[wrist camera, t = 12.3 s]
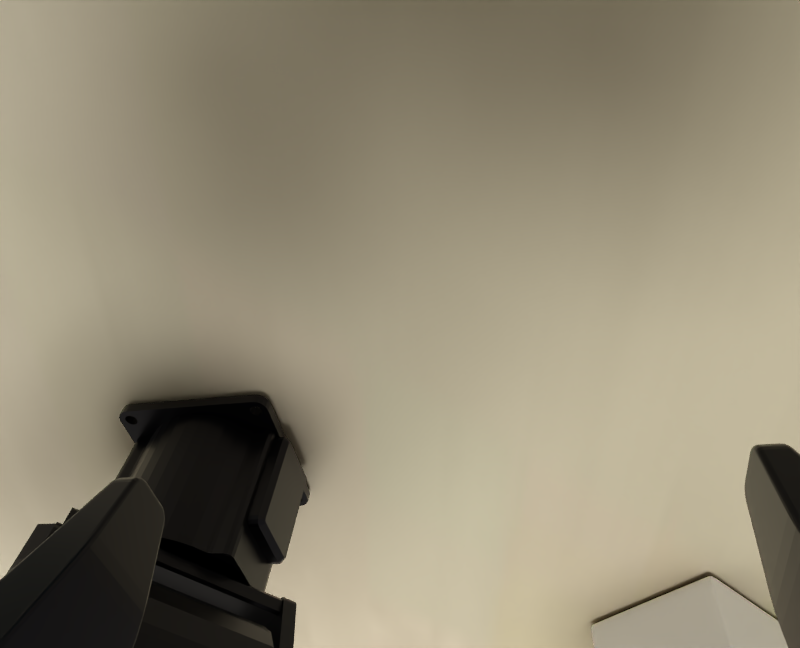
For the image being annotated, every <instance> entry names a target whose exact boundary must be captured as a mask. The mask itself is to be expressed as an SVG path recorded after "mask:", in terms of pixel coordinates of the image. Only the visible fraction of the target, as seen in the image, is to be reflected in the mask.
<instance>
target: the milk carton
mask: <svg viewBox="0 0 800 648" xmlns="http://www.w3.org/2000/svg"><path fill="white" fill-rule="evenodd" d="M591 630H592V639H593V647H594V648H788V646H787V643H786V641H785V638H784V636H783V633H782V630H781V628H780V625H779V622H778V621H777V620H776V619H775V618H773V617H772V616H770V615H769V614H767V613H766V612H764V611H763V610H761V609H760V608H758V607H757V606H756V605H754V604H753V603H751V602H750V601H748V600H747V599H745V598H744V597H742V596H741V595H740V594H738V593H737V592H735V591H734V590H732V589H731V588H729V587H728V586H726V585H725V584H723V583H722V582H720V581H719V580H717V579H716V578H714V577H712V576H708V577H706V578H703V579H701V580H698V581H696V582H693V583H691V584H689V585H686V586H684V587H681V588H679V589H676V590H674V591H672V592H669V593H667V594H664V595H662V596H660V597H657V598H655V599H652V600H650V601H648V602H645V603H643V604H640V605H638V606H636V607H633V608H631V609H629V610H626V611H624V612H621V613H619V614H617V615H614V616H612V617H610V618H607V619H605V620H602V621H600V622H598V623H595V624H593V625H592V626H591Z"/></svg>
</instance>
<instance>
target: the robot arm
mask: <svg viewBox="0 0 800 648" xmlns="http://www.w3.org/2000/svg"><path fill="white" fill-rule="evenodd" d="M256 407H259V408H256ZM119 418H120V421H121V422H122V424H123V425H124V427H125V429H126V430H127V432H128V433H129V435H130V436H131V438H132V439H133V441H134V443H135V445H134V447H133V448H132V450H131V452H130V454H129V456H128V458H127V459H126V461H125V463H124V465H123V467H122V468H121V470H120V472H119V474H118V476H117V478H116V479H115V480H114V481H112V482H111V483H110V484H109V485H108V486H106V487H105V488H104V489H103V490H102V491H101V492H100V493H98V494H97V495H96V496H95V497H94V498H93V499H92V500H91V501H89V502H88V503H87V504H86V505H85V506H84V507H83V508H81V509H80V510H77V509H75V508H72V509H71V511H70V513H69V515H68V516H67V518H66V520H65V521H64V523H63V524H61V523H58V522H57V523H56V524H38V525H37V526H36V528H35V530H34V531H33V533H32V535H31V536H30V538H29V539H28V541H27V543H26V544H25V546H24V547H23V549H22V551H21V552H20V554H19V555H18V557H17V558H16V560H15V562H14V563H13V565H12V566H11V568H10V569H9V571H8V572H7V574H6V575H5V576H4V577H3V578H2V579H1V580H0V648H293V644H294V630H295V615H296V602H294V601H291V600H289V599H286V598H284V597H282V598H281V599H280V598H278V597H275V596H273V595H270V594H268V593H266V592H265V589H266V585H267V582H268V578H269V574H270V571H271V567H272V564H280V563H281V562H282V561H283V560H284V559H285V557H286V554H287V550H288V547H289V543H290V539H291V536H292V532H293V528H294V524H295V521H296V517H297V513H298V509H299V506H301V505H305V504H306V503H307V502H308V498H309V495H310V492H309V489H308V487H307V484H306V476H305V474H304V471H303V469H302V467H301V465H300V462H299V460H298V458H297V455H296V453H295V451H294V449H293V446H292V444H291V442H290V441H289V440H288V439H287V437H285V435H284V432H283V430H282V428H281V425H280V423H279V421H278V419H277V416H276V414H275V412H274V410H273V407H272V405H271V403H270V401H269V400H268V399H267V398H265V397H263V396H260V395H247V396H234V397H221V398H208V399H195V400H182V401H170V402H157V403H144V404H131V405H127V406H125V407H124V409H123V410H122V412H121V414H120V417H119ZM745 496H746V502H747V506H748V510H749V514H750V518H751V522H752V526H753V530H754V533H755V537H756V541H757V545H758V549H759V553H760V557H761V561H762V565H763V569H764V573H765V577H766V581H767V584H768V588H769V592H770V596H771V600H772V603H773V607H774V610H775V613H776V616H777V619H778V622H779V625H780V628H781V630H782V633H783V636H784V638H785V641H786V643H787V646H788V648H800V454H799V453H798V452H796V451H795V450H794V449H793V448H792V447H790V446H788V445H786V444H762V445H755V446H754V447H753V448H752V449H751V452H750V457H749V463H748V468H747V474H746V480H745Z"/></svg>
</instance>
